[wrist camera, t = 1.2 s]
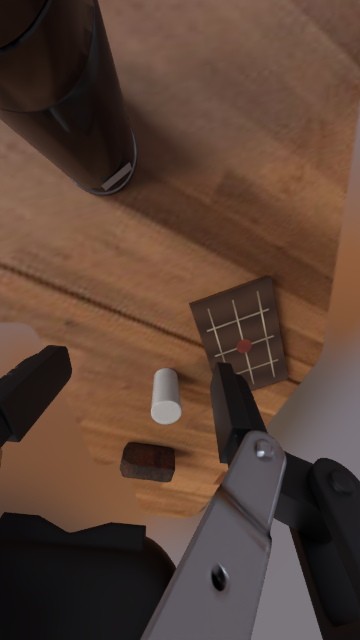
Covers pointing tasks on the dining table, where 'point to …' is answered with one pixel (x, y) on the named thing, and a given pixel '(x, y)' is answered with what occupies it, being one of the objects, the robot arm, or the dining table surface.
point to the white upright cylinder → (166, 397)
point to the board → (243, 331)
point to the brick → (148, 462)
